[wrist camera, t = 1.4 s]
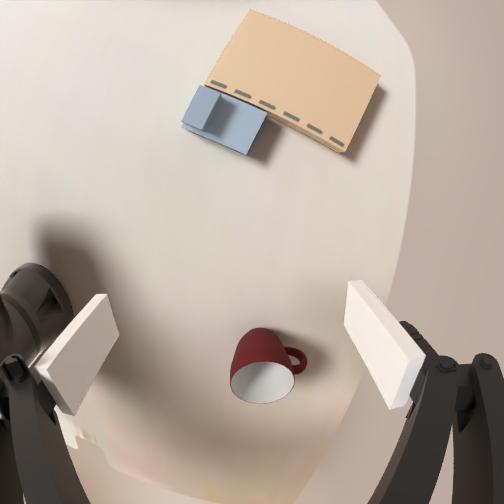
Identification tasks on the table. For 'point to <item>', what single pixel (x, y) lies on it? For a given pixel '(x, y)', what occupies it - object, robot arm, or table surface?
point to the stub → (223, 119)
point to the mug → (263, 367)
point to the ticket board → (295, 79)
